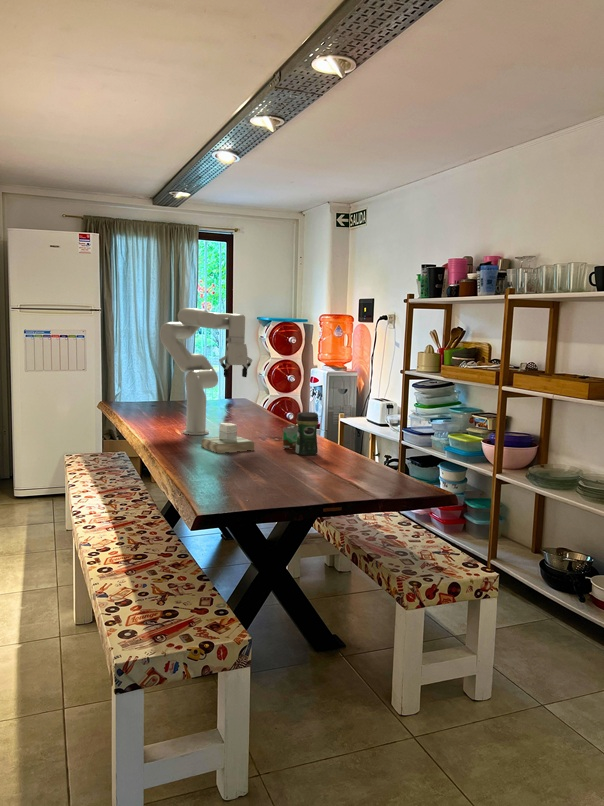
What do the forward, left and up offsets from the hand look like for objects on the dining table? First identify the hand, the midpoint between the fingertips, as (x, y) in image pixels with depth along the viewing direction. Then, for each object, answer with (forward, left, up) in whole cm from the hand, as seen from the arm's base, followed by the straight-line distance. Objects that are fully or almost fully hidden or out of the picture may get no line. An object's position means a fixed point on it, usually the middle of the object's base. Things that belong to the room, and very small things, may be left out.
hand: (235, 377), depth 309 cm
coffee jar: (+40, +14, -31) cm, 52 cm away
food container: (+26, +16, -31) cm, 43 cm away
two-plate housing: (+16, -12, -26) cm, 33 cm away
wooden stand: (+16, -12, -30) cm, 36 cm away
